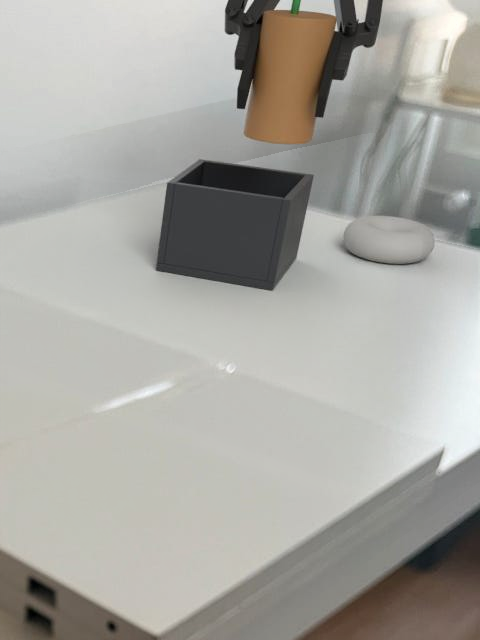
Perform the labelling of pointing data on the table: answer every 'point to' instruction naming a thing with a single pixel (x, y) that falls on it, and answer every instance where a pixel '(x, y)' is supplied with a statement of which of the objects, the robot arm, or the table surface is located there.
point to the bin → (233, 223)
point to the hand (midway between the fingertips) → (280, 102)
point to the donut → (389, 239)
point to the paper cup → (288, 75)
